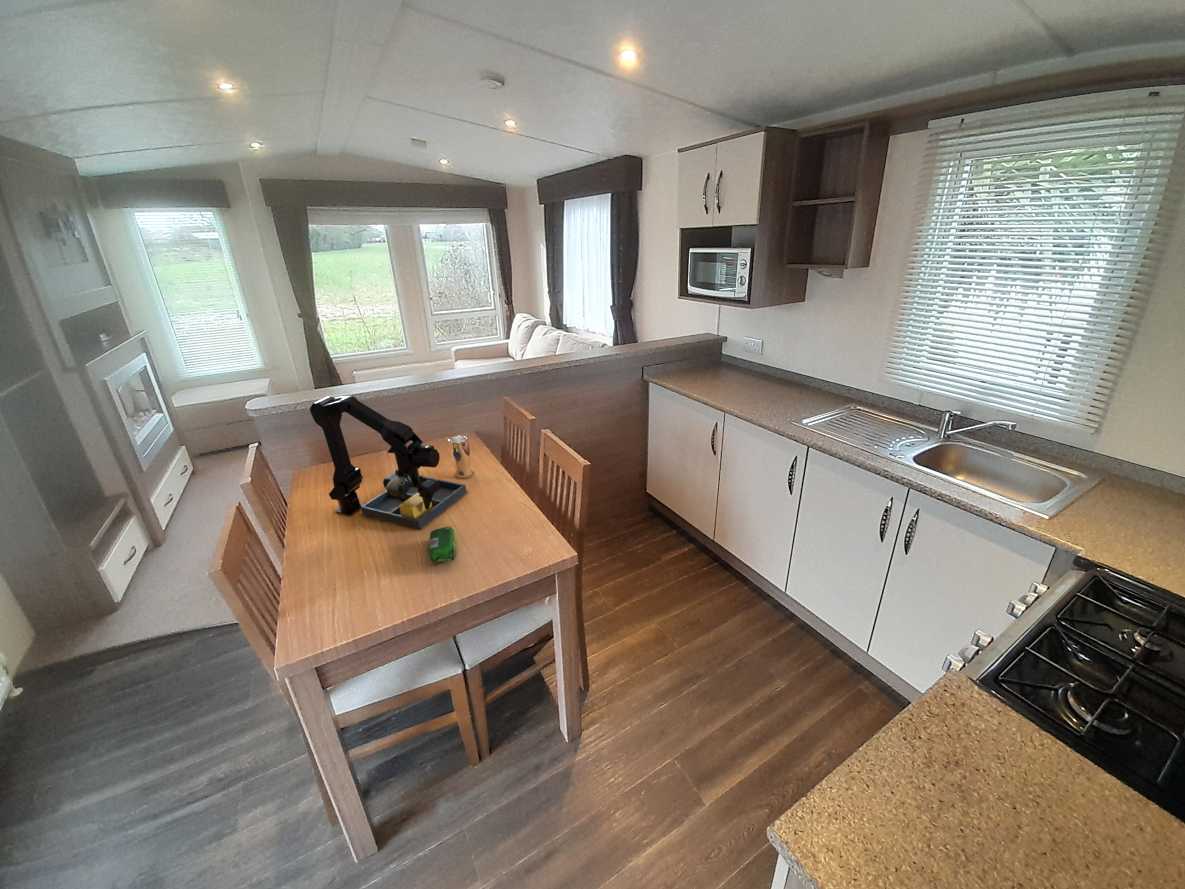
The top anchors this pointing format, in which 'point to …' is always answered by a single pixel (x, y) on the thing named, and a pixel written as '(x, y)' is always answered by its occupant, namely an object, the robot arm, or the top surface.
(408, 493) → the tray
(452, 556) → the snack package
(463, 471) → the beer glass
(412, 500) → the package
